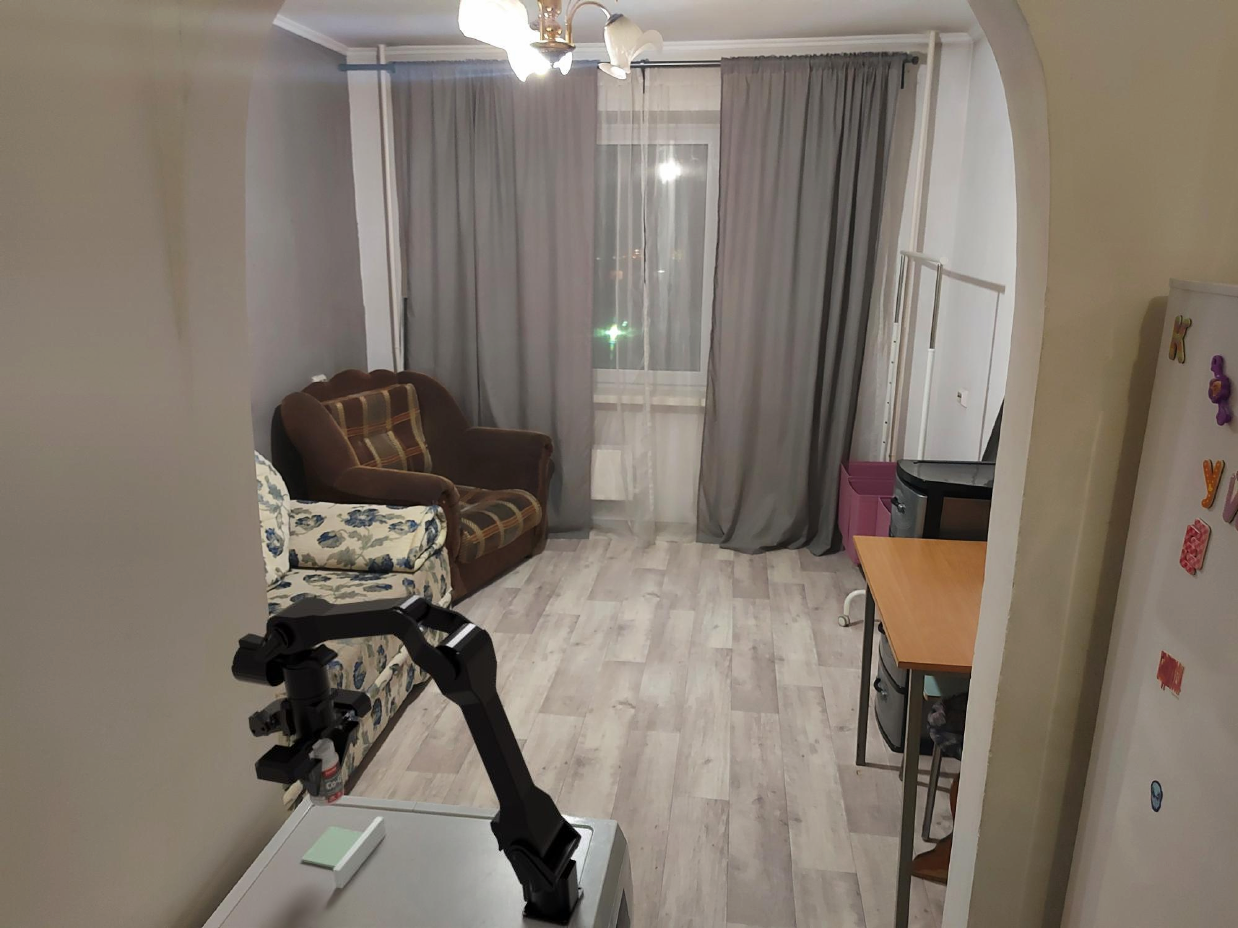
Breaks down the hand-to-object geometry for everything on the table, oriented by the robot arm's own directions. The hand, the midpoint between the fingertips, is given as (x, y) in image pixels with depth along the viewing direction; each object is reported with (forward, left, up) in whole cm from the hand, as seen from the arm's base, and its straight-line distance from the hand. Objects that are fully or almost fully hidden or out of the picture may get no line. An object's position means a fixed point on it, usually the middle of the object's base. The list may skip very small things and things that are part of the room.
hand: (325, 784), depth 122 cm
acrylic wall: (-5, +1, -11) cm, 12 cm away
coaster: (0, 0, -11) cm, 11 cm away
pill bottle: (0, 0, -2) cm, 2 cm away
